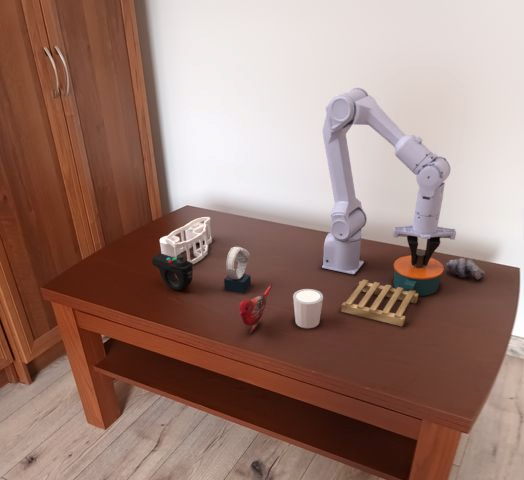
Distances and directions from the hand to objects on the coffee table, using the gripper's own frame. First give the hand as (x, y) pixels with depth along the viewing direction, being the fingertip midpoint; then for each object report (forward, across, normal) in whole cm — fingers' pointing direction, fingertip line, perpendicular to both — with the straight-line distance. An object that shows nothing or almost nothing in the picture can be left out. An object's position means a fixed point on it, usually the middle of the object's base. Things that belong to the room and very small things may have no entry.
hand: (418, 263), depth 133 cm
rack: (+6, -10, -11) cm, 16 cm away
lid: (+1, 0, 0) cm, 1 cm away
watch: (+6, -46, -6) cm, 46 cm away
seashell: (+6, +13, +6) cm, 15 cm away
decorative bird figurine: (+6, -38, -22) cm, 44 cm away
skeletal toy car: (+6, -63, +13) cm, 65 cm away
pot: (+6, 0, 0) cm, 6 cm away
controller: (+6, -62, -7) cm, 63 cm away
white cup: (+6, -26, -20) cm, 34 cm away
